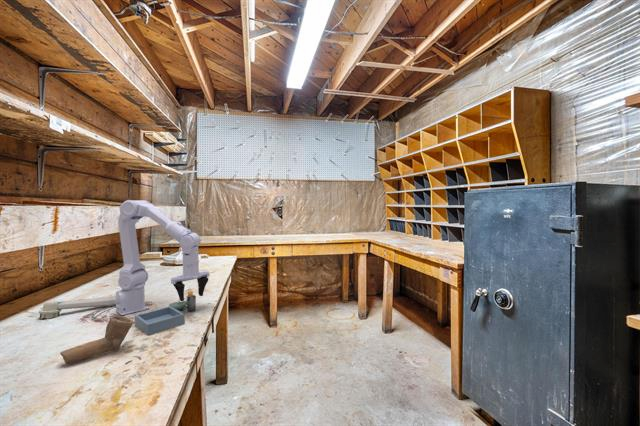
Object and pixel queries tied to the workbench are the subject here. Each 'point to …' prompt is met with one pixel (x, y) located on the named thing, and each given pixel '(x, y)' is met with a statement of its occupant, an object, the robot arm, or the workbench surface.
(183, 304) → the crank
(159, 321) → the tray
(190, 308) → the pin
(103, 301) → the grey long piece
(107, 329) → the pipe
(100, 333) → the workbench surface
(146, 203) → the robot arm
